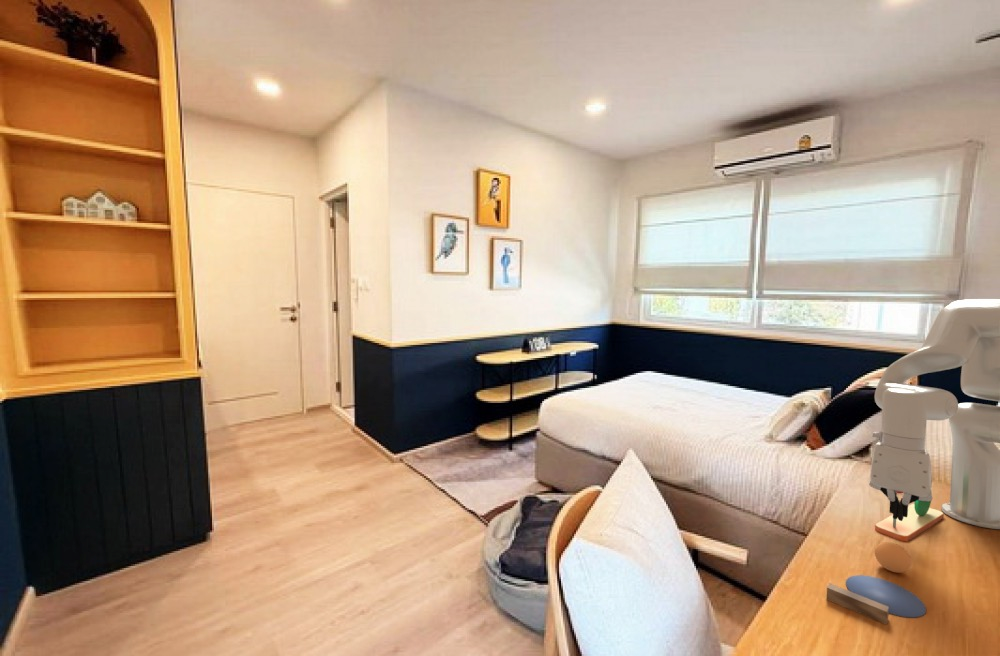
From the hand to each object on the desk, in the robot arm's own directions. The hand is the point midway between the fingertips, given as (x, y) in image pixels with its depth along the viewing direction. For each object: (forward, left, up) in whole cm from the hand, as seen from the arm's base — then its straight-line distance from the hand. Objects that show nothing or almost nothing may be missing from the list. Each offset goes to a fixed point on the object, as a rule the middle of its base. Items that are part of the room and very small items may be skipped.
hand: (898, 517), depth 98 cm
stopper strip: (+19, +23, -9) cm, 31 cm away
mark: (+12, +18, -9) cm, 23 cm away
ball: (+5, +8, -6) cm, 11 cm away
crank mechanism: (-12, -17, -9) cm, 23 cm away
